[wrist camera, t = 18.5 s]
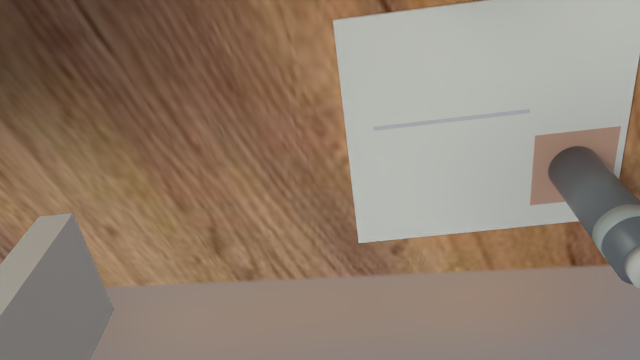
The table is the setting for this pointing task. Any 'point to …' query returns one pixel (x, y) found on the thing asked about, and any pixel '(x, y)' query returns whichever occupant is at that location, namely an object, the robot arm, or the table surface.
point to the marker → (601, 208)
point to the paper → (480, 109)
